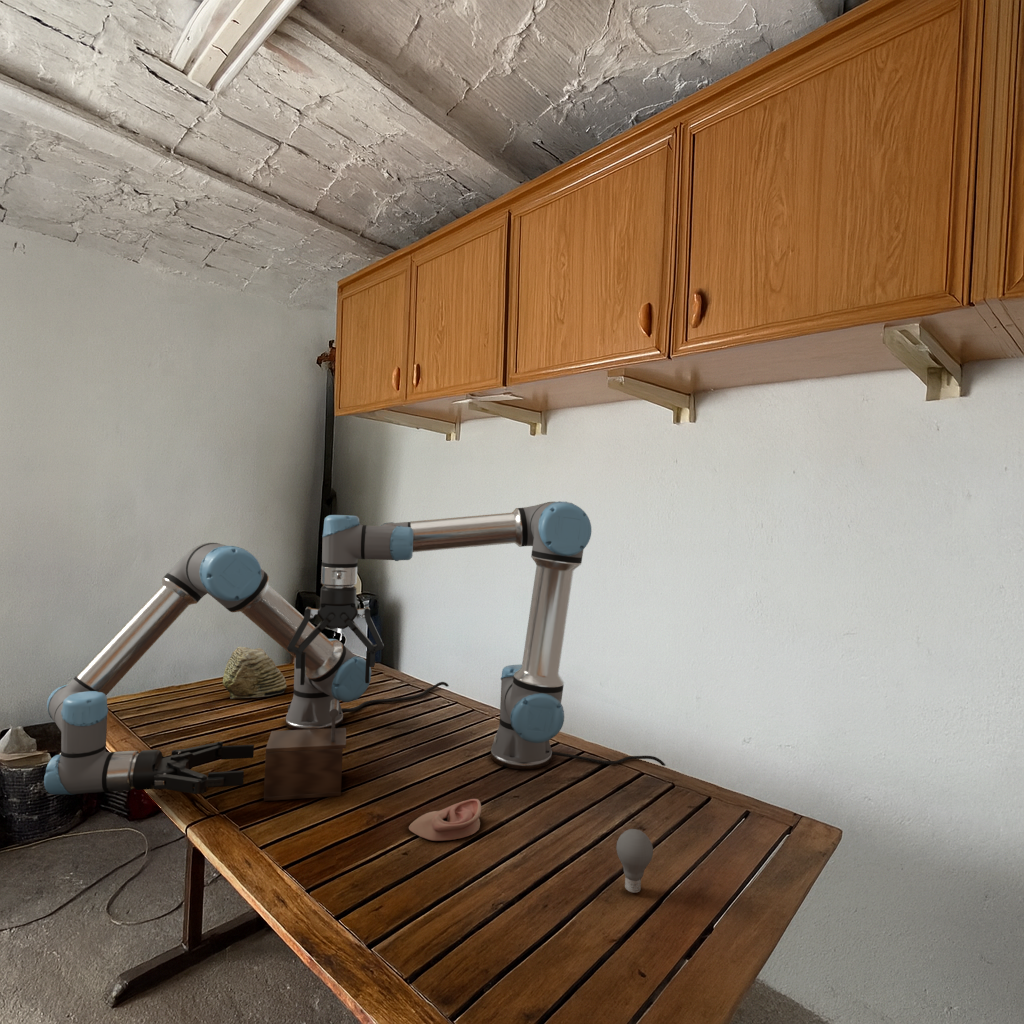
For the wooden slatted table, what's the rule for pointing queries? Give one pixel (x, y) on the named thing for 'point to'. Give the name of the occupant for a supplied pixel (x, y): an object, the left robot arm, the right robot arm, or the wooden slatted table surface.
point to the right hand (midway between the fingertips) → (335, 682)
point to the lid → (309, 737)
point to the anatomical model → (449, 822)
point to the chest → (302, 774)
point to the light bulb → (634, 857)
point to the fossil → (252, 674)
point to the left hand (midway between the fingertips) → (248, 763)
